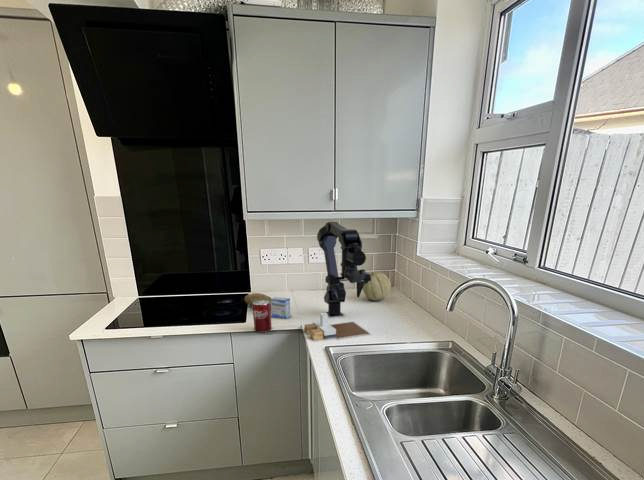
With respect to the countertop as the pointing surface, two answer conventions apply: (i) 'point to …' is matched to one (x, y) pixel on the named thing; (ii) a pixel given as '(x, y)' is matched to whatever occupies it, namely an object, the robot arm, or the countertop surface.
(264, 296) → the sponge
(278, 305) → the medicine box
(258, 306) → the soda can
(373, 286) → the cantaloupe
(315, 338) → the crumb
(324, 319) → the brush
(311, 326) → the crumb
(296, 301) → the countertop surface
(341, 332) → the spill patch
